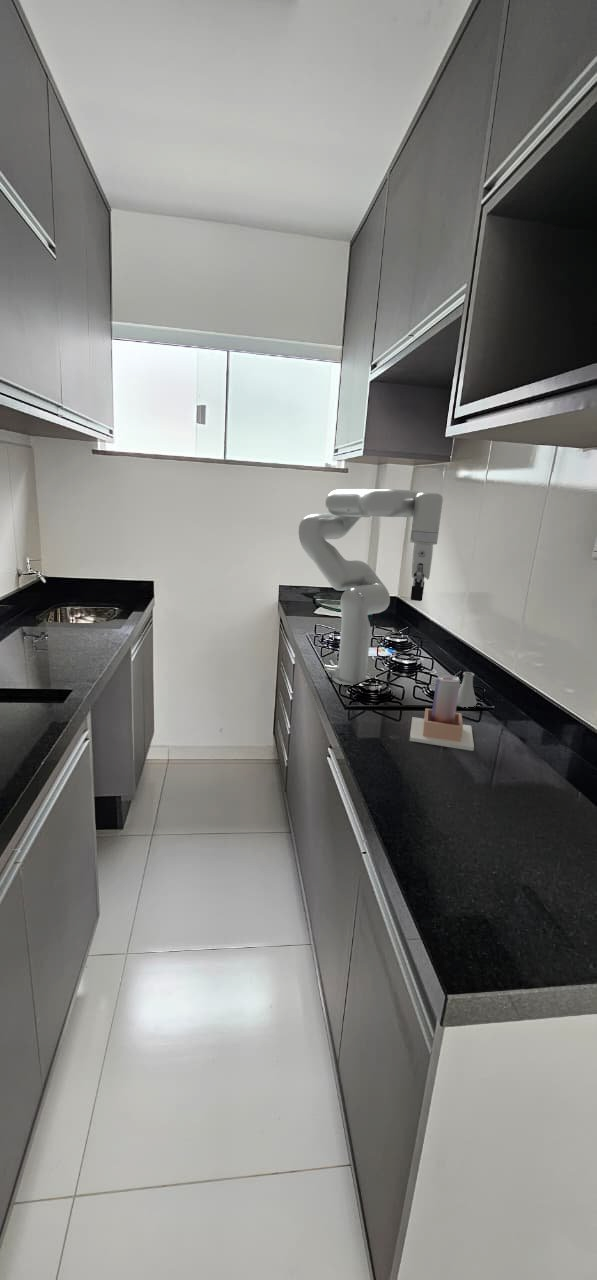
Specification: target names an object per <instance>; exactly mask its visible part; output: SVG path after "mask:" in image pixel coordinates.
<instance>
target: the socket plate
mask: <svg viewBox="0 0 597 1280" xmlns="http://www.w3.org/2000/svg"><path fill="white" fill-rule="evenodd" d="M424 710H425V711H424V717H423V718H422V717H415V716H412V718H411V725H410V735H409V742H414V743H421V744H428V745H435V746H441V747H447V748H452V749H453V748H454V749H459V750H466V751H474V750H475V744H474V737H473V729H472V725H471V724H470V725H468V724H463V714H462V713H461V712H456V713H455V719H454V725H452V724H445V723H439V722H432V721H431V715H432V708H427V707H426V708H425V709H424Z"/></svg>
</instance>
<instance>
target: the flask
mask: <svg viewBox="0 0 597 1280" xmlns="http://www.w3.org/2000/svg"><path fill="white" fill-rule="evenodd" d="M462 675H463V679H462V682H461V683H460V687H459V693H458V700H457V706H456V707H460V708H464V707H466V708H465V709H469V708H468V707H474V706H475V705H476V704H477V699H476V695H475V691H474V685H473V683H474V677H475V673H473V672H469V671H463V673H462ZM477 705H478V704H477ZM477 705H476V706H477ZM476 706H475V707H476ZM475 707H474V708H475Z"/></svg>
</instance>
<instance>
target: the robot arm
mask: <svg viewBox="0 0 597 1280" xmlns="http://www.w3.org/2000/svg"><path fill="white" fill-rule="evenodd" d="M443 501H444V500H443V496H442V494H440V493H437V492H436V493H435V492H424V491H423V492H421V491H416V490H412V489H411V490H409V489H389V488H388V489H371V488H339V489H338V488H337V489H334V490H332V491H330V492H329V494H327V495H326V499H325V508H326V510H327V512H328V513H313V514H308V515H306V516H305V517H303V518H302V519H301V520H300V523H299V525H298V539H299V543H300V545H301V548H302V549H303V550H304V552H305V553H306V555H307V556H308V557H309V559H311V560H312V561H313V563H314V564H315V565H316V566H317V568H318V570H319V571H320V572H321V574H322V575H323V577H324V578H325V579H326V580H327V582H328V583H329V585H330V587H332V588H333V589H334V591H335V590H336V591H344V592H343V593H342V595H341V596H340V611H341V626H340V641H339V653H338V663H337V665H330V664H324V671H326V673H330V674H332V678H331V679H332V681H333V682H334V683H336V684H339V685H341V684H342V685H341V686H344V685H353V684H356V683H358V682H360V681H364V680H366V679H371V676H369V675H367V673H368V661H369V653H370V652H369V651H370V645H371V644H370V643H371V632H372V629H371V628H372V627H371V624H370V620H369V615H373V614H380V613H382V612H384V611H386V610H387V609H388V607H389V606H390V603H391V596H390V593H389V591H388V589H387V587H386V586H385V584H384V583H383V581H382V580H381V579H380V578H379V577H378V575H377V574H376V572H375V571H374V570H373V569H372V567H371V566H370V565H369V564H367V563H366V562H364V561H361V560H346V559H345V557H343V556H342V554H341V552H339V550H338V549H337V548H336V547H335V546H334V545H333V544H331V543H330V542H329V541H328V540H339V539H342V538H343V537H344V536H346V535H347V534H348V533H349V532H350V531H351V530H352V529H353V527H354V526H355V525H356V524H357V523H358V522H359V520H360V519H361V518H370V517H384V518H412V522H411V530H410V531H411V532H410V539H409V542H410V543H414V544H413V549H412V562H411V577H412V579H413V581H412V582H413V583H412V586H411V590H410V591H411V592H410V600H411V601H414V602H422V601H423V596H424V590H425V589H424V588H425V579H426V580H429V579H430V575H431V567H432V562H433V561H432V559H433V553H434V545H438V539H439V531H440V523H441V517H442V516H441V515H442V510H443V509H442V508H443Z"/></svg>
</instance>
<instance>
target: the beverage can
mask: <svg viewBox="0 0 597 1280" xmlns="http://www.w3.org/2000/svg"><path fill="white" fill-rule="evenodd" d="M460 682H461V680H460V678H459V677H458V676H456V675H451V674H439V675H437V679H436V681H435V687H434V694H433V695H434V696H433V701H432V702H433V703H432V708H431V709H432V715H431V721H432V722H439V723H445V724H452V725H454V719H455V713H457V712H456V711H457V707H458V706H457V700H458V693H459V688H460V686H461V683H460Z"/></svg>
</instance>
